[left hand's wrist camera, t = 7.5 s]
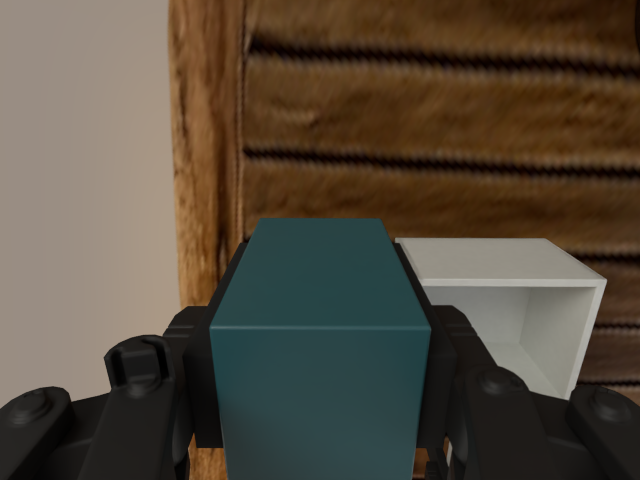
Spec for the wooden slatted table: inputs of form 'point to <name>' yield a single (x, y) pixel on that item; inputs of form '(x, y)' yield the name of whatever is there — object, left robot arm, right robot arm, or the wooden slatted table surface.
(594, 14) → the wooden slatted table surface
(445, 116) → the wooden slatted table surface
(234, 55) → the wooden slatted table surface
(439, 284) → the handled box
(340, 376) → the teal block
